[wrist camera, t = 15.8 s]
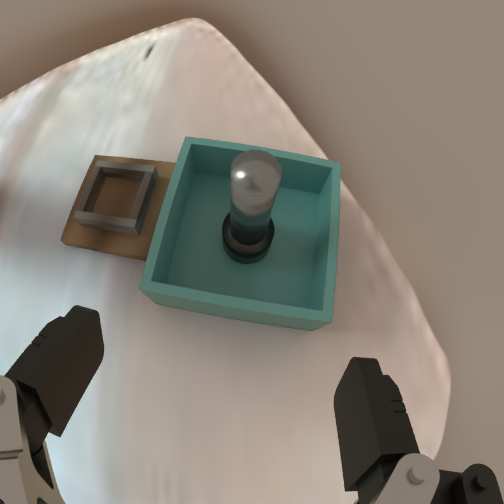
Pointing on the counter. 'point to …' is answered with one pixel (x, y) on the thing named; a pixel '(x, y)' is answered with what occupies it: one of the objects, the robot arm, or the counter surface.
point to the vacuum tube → (251, 206)
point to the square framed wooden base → (118, 206)
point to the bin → (236, 274)
